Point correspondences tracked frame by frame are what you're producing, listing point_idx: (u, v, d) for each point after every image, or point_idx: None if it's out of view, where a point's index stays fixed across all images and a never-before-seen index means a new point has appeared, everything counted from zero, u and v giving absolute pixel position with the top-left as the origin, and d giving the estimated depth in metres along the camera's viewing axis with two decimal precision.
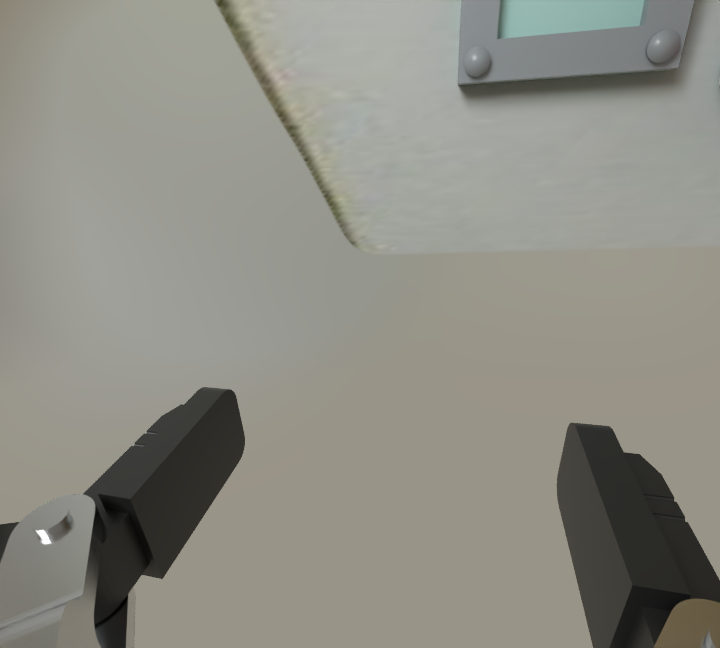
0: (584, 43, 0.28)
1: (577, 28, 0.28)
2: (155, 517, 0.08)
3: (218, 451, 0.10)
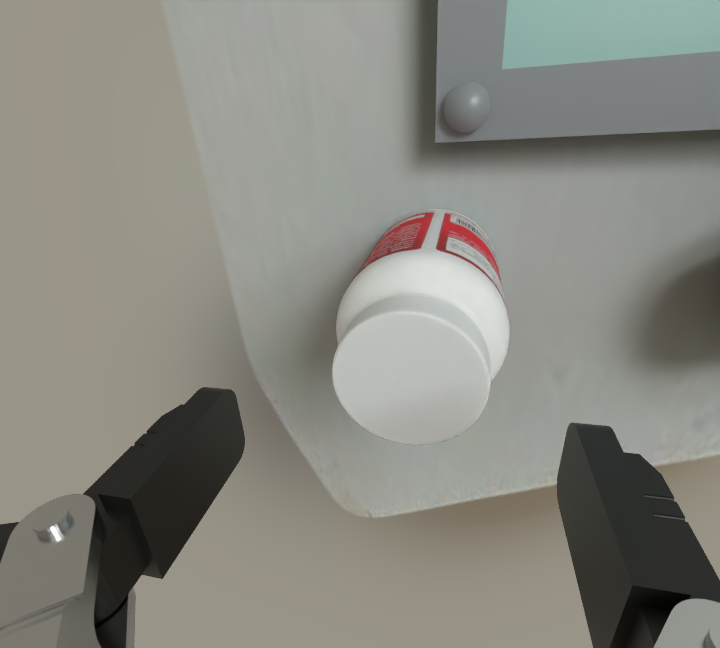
0: None
1: None
2: (155, 517, 0.08)
3: (218, 451, 0.10)
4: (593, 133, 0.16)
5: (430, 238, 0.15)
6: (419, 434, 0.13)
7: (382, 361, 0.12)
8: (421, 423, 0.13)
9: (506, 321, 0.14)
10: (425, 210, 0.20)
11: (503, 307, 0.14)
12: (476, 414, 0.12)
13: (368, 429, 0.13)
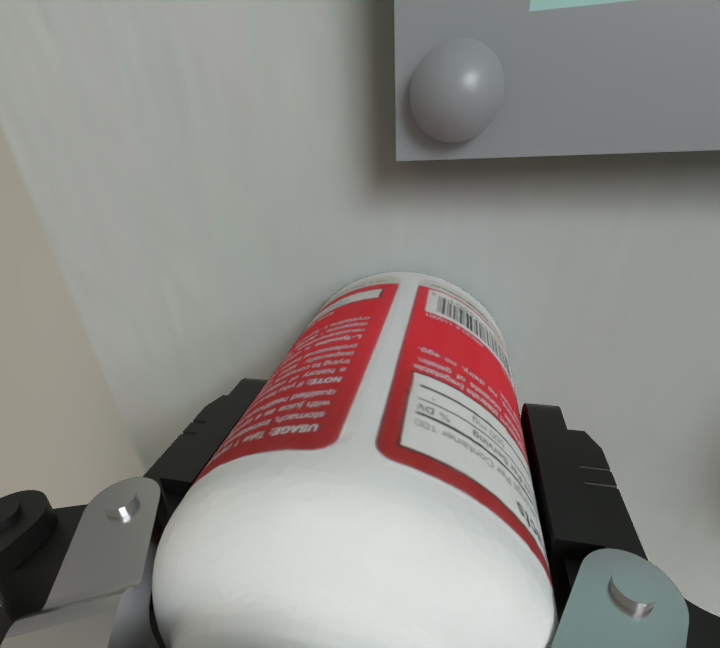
0: None
1: None
2: None
3: None
4: (715, 146, 0.08)
5: (372, 385, 0.07)
6: None
7: None
8: None
9: None
10: (385, 276, 0.11)
11: (549, 612, 0.05)
12: None
13: None
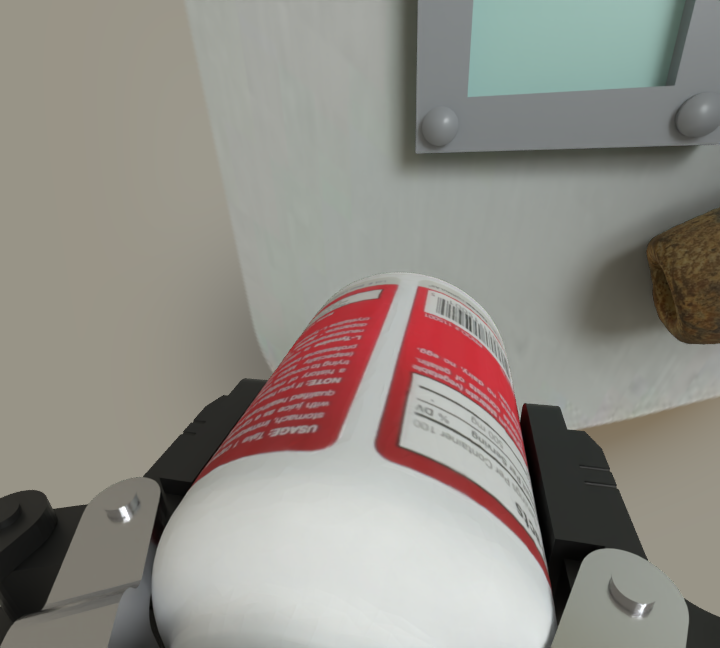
0: (456, 14, 0.19)
1: (479, 7, 0.20)
2: None
3: None
4: (539, 148, 0.21)
5: (371, 386, 0.07)
6: None
7: None
8: None
9: None
10: (384, 277, 0.11)
11: (548, 613, 0.05)
12: None
13: None
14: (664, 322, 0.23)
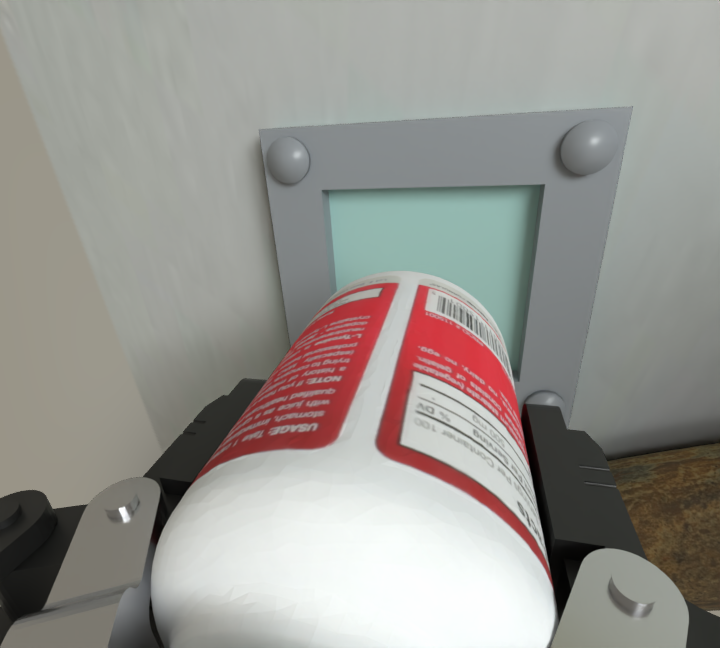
0: (318, 308, 0.21)
1: None
2: None
3: None
4: None
5: (372, 384, 0.07)
6: None
7: None
8: None
9: None
10: (385, 275, 0.11)
11: (550, 612, 0.05)
12: None
13: None
14: None
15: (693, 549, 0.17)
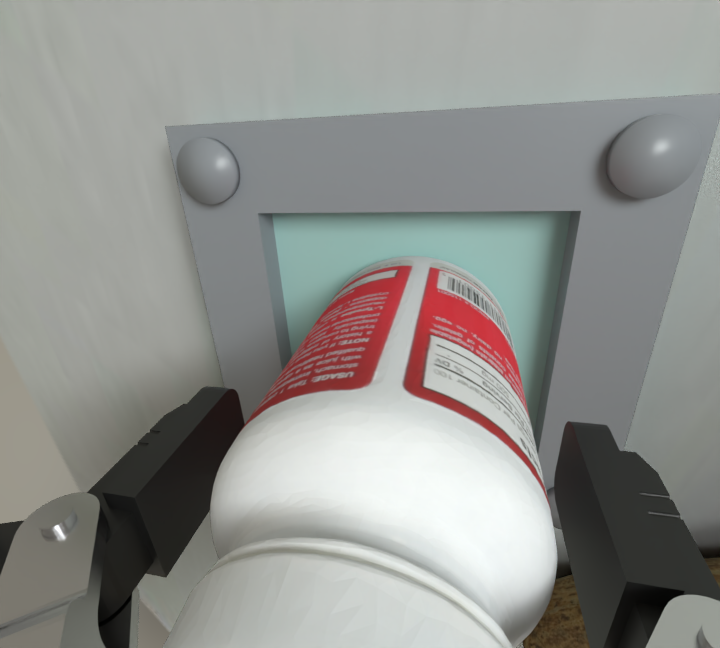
0: (264, 369, 0.15)
1: None
2: (159, 516, 0.08)
3: (221, 450, 0.10)
4: None
5: (396, 344, 0.08)
6: None
7: None
8: None
9: (553, 550, 0.06)
10: (399, 260, 0.12)
11: (547, 520, 0.06)
12: None
13: None
14: None
15: None
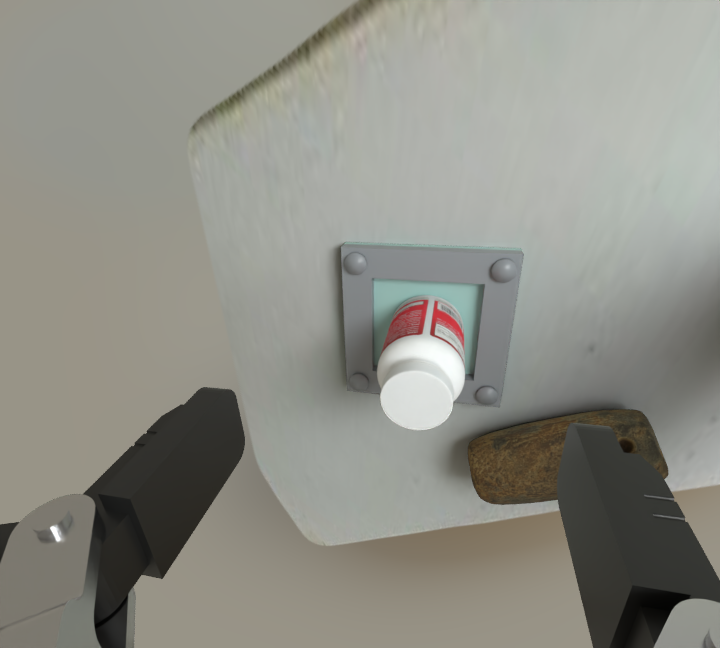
0: (364, 337, 0.37)
1: (377, 329, 0.38)
2: (155, 517, 0.08)
3: (218, 451, 0.10)
4: None
5: (426, 325, 0.30)
6: (420, 425, 0.27)
7: (404, 391, 0.26)
8: (421, 420, 0.27)
9: (463, 371, 0.28)
10: (423, 297, 0.34)
11: (461, 364, 0.28)
12: (446, 416, 0.27)
13: (395, 422, 0.28)
14: None
15: (553, 465, 0.34)
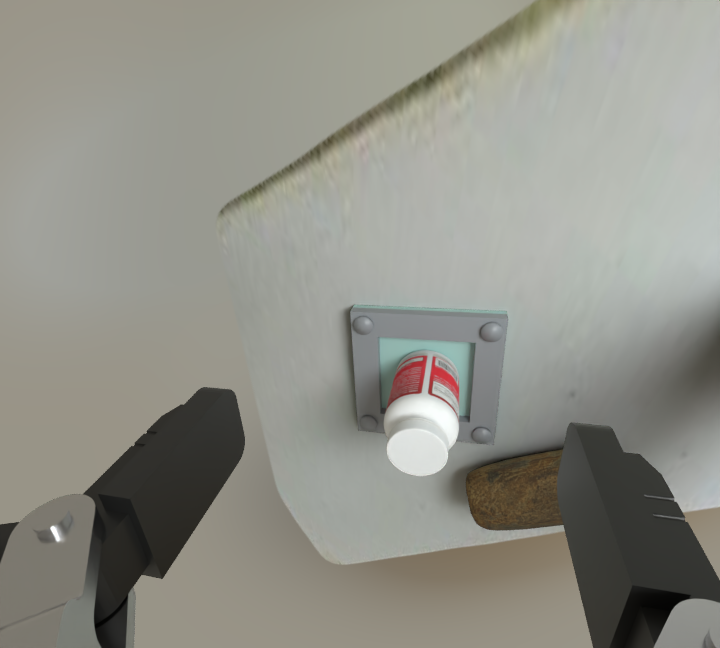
0: (372, 385, 0.42)
1: (383, 378, 0.43)
2: (155, 517, 0.08)
3: (218, 451, 0.10)
4: None
5: (425, 383, 0.35)
6: (420, 472, 0.32)
7: (407, 444, 0.31)
8: (421, 467, 0.32)
9: (456, 424, 0.33)
10: (423, 352, 0.39)
11: (455, 418, 0.33)
12: (443, 465, 0.32)
13: (400, 469, 0.33)
14: None
15: (540, 497, 0.39)
